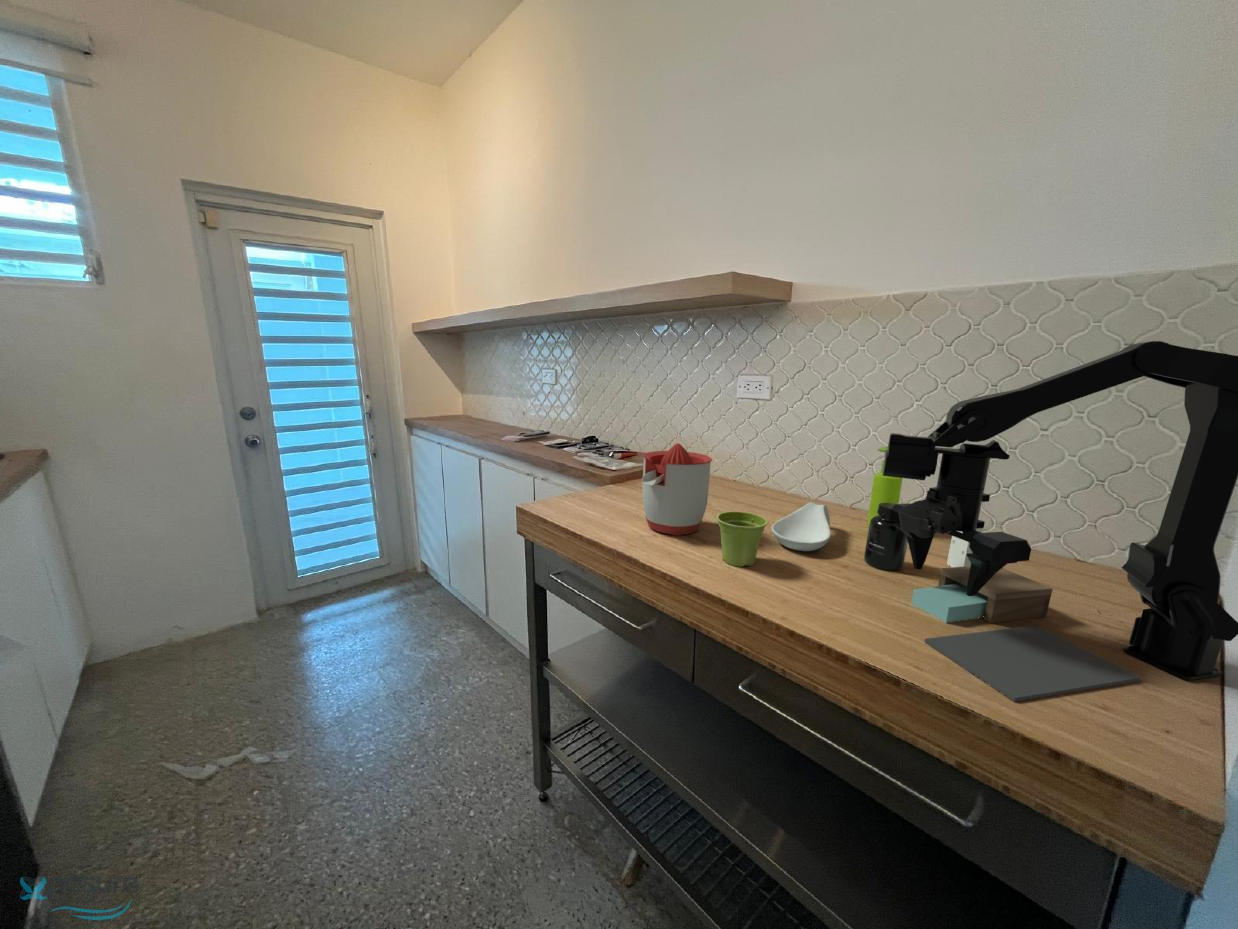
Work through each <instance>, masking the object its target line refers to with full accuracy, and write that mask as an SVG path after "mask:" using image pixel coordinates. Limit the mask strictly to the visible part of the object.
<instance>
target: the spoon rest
mask: <svg viewBox="0 0 1238 929" xmlns="http://www.w3.org/2000/svg"><path fill="white" fill-rule="evenodd" d="M830 519H831V518H830V512H829V508H828V507H827V505H826V504H817V503H815V502H808V503H806V504H804V505H803V506H802V507H800V508H799V509H797V510H795V511H793V512H792V513H789V514H788V515H786V516H784V517H782V518H781V519H778V520H777V521H775V522H774V523H773V524H772V526H771V528H770V529H771V533H772V535H773V537H774V538H775V540H777V542H778V543H780V544H781V545H782V546H784V547H785V548H788V549H791V550H794V551H798V552H813V551H816V550H819V549H820V548H822V547H824V546H825V545H826V544H827V543H828V542H829V541H830V539H831V536H832V535H831V533H832V532H831V528H830V527H831V526H830V525H831V520H830Z"/></svg>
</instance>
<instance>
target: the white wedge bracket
mask: <svg viewBox="0 0 1238 929" xmlns="http://www.w3.org/2000/svg"><path fill="white" fill-rule="evenodd" d="M976 531H978V532H981V533H983V528H978V529H976ZM958 532H960V531H958ZM961 533H963V532H961ZM969 545H970V542H967V541H964V540H962V539H959V538H957V537H954V536H951V541H950V545H949V551H948V556H947V560H946V564H947V566H949V565H950V566H951V567H964V566H971V562H970V561H969V559H968V557H967V556H966V554H970V553H972V551H971V549H970V547H969ZM950 566H949V567H950ZM951 567H950V568H951Z"/></svg>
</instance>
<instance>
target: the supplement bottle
mask: <svg viewBox="0 0 1238 929" xmlns="http://www.w3.org/2000/svg"><path fill="white" fill-rule="evenodd" d="M895 505H896V504H893V503H880V504H879V507H878V510H877V513H878V516H875V517H873V518H872V519H871V520H870V524H869V528H868V531H867V537H866V543H865V549H864V555H863V559H864V562H865V563H866V564H867V565H869V567H873V568H876V569H879V570H881V571H887V572H898V571H900V570H902V569H903V568H904V563H905V560H906V555H907V549H908V545H909V544H908V541H907V538H906V535H905V534H904V533H903V532H902V531H901V530H900V529H899V528H897V527H896V526H895V525H894V524H895V523H896V522H893V521H891V520H889V516H890V510H891V509H892V508H893V507H894V506H895Z"/></svg>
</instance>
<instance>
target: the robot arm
mask: <svg viewBox="0 0 1238 929" xmlns="http://www.w3.org/2000/svg"><path fill="white" fill-rule="evenodd" d="M1142 377H1145V378H1148V379H1151V380H1153V381H1154V380H1155V381H1156V382H1161V383H1164V384H1168V385H1171V386H1175V387H1179V388H1184V401H1183V402H1184V409H1185V412H1186V413H1185V414H1186V417H1187V420H1188V423H1189V433H1188V436H1187V439H1186V443H1185V446H1184V448H1183V453H1182V456H1181V459H1180V461H1179V465H1178V468H1177V471H1176V475H1175V477H1174V481H1173V484H1172V487H1171V491H1170V494H1169V497H1168V501H1167V503H1166V507H1165V510H1164V513H1163V516H1162V518H1161V519H1162V520H1161V522H1160V526H1159V527H1158V528H1159V529H1158V531H1157V533H1156V535H1155V536H1154V537H1153V538H1151V540H1150V541H1148V542H1147V543H1146V544H1145V545H1144V544H1141V543H1137V542H1133V541H1132V542H1130V545H1129V550H1128V551H1129V552H1128V553H1129V554H1128V558H1127V561H1126V563H1125V564H1124V565H1122V566H1121V569H1122V570H1123V571H1125V572H1126V573H1127V574H1126V575H1127V576H1126V578H1127V581H1128V584H1130V585H1131V586H1132V587H1133V588H1134V590H1136V592H1138V593H1139V596H1140V600H1141V602H1142V603H1143V604H1144V605H1146V606H1148V607H1149V608H1144V609H1142V612H1141V616H1137V617H1135V620H1134V623H1133V627H1132V630H1131V634H1130V637H1129V640H1128V644H1129V645H1130V646H1129V645H1128V646H1124V647H1123V649H1122V650H1123V651H1124V652H1125V653H1126V654H1129V655H1131V656H1132V657H1135V658H1138V659H1140V660H1142V661H1144V662H1146V663H1149V664H1151V665H1153V666H1155V667H1156V668H1159V669H1161V670H1164V671H1165V672H1168V673H1169V674H1172V675H1174V676H1176V677H1178V678H1181V679H1182V680H1186V681H1194V680H1199V679H1206V678H1211V677H1212V678H1213V677H1218V676H1221V675H1222V673H1223V672H1222V670H1220V669H1218V668H1217V667H1216V664H1217V661H1218V657H1219V656H1220V651H1221V649H1222V646H1223V643H1224V641H1227V642H1231V641H1232V640H1234V639H1235V637H1236V636H1238V621H1237V620H1236V619H1235V618H1233V616H1232V615H1230V613H1229V612H1228V611H1227V610H1225V608H1223V607H1222V606H1221V605H1220V604H1219V603H1220V602H1219V601H1220V593H1221V592H1220V591H1221V573H1220V569H1219V565H1218V561H1217V557H1216V554H1215V546H1216V542H1217V539H1218V536H1219V534H1220V530H1221V528H1222V524H1223V522H1224V519H1225V517H1226V516H1225V515H1226V513H1227V510H1228V507H1229V504H1230V501H1231V499H1232V495H1233V493H1234V490H1235V487H1236V484H1237V481H1238V355H1237V354H1236V355H1235V354H1227V353H1224V352H1223V353H1221V352H1215V351H1208V350H1202V349H1196V348H1189V347H1184V346H1179V345H1175V344H1170V343H1169V342H1165V341H1161V340H1152V341H1150V340H1149V341H1142V342H1137V343H1133V344H1129V345H1127V346H1126V347H1125V348H1122V349H1121V350H1119V351H1117V352H1114V353H1111V354H1109V355H1106V356H1102V357H1100V358H1098V359H1095V360H1092V361H1090V362H1087V363H1084V364H1081V365H1079V366H1076V367H1073V368H1071V369H1068V370H1065V371H1063V372H1060V373H1056V374H1054V375H1052V376H1049V377H1047V378H1044V379H1040V380H1039V381H1035V382H1033V383H1030V384H1027V385H1025V386H1022V387H1020V388H1016V389H1012V390H1007V391H1003V392H997V393H991V394H987V395H982V396H977V397H973V398H968V399H964V400H961V401H958V402H957V403H955V404H953V405H952V406H951V407H950V408H949V410H948V412H947V414H946V416H945V417H946V418H945V421H944V422H943V423H942V424H940V425H939V426H938V427H937V428H936V429H934V430H933V431H932V433H930V434H928V436H917V435H916V436H914V435H904V434H901V433H894V432H893V433H890V434H889V439H888V444H887V447H888V448H887V451H886V452H884V459H883V460H884V466H883V476H889V477H898V478H903V479H908V480H917V481H925V480H926V478H927V477H928V478H929V477H931V476H934V475H935V473H936V470H937V465H938V458H939V454H941V460H940V464H939V465H940V466H939V472H938V476H937V482H936V487H929V490H927V492H926V497H925V498H924V499H922V500H917V501H915V502H912V503H899V504H896V505H895V506H894V507H893V508H892V509H891V510H890V516H889V520H891V521H893V522H896V523H895V524H894V525H895V526H896V527H897V528H899V529H900V530H901V531H902V532H903V533H904V534H905V535H906V538H907V541H908V544H907V545H908V548H909V551H910V557H911V560H912V564H913V565H912V566H913V569H914V570H916V571H917V570H919V571H920V570H921V569H922V568H923V566H924V564H925V563H926V561H927V557H928V554H929V551H930V548H931V546H932V543H933V540H934V537H935V534H941V535H945V534H947V535H949V536H951V537H952V536H954V537H957V538H959V539H962V540H964V541H967V542H970V545H969V547H970V549H971V551H972V553H970V554H966V556H967V557H968V559H969V561H970V562H971V567H970V572H969V577H968V583H967V595H968V596H974V595H976V594H977V592H978V591H979V590H980V589H981V588H982V587H983V586H984V585H985V584H986V583H987V582H988V581H989V580H990V579H991V578H992V577H993V576H994V575H995V574H996V573H997V572H998V571H999V570H1000V569H1002V568H1004V567H1006V566H1007V565H1009V564H1017V563H1019V562H1027V561H1028V562H1029V561H1030V556H1031V553H1032V546H1031V545H1030V543H1029V542H1028V540H1027V539H1024V538H1022V537H1018V536H1016V535H1013V534H1010V533H1007V532H1004V531H993V532H992V531H991V532H989V531H988V532H982V533H981V532H978V531H976V529H978V528H982V529H984V527H985V523H986V522H985V521H984V520H981V519H980V518H979V517H980V514H981V508H982V503H987V502H990V498H991V494H988V493H985V488H986V482H987V477H988V473H989V467H990V462H991V459H995V460H996V459H997V460H1004V461H1005V460H1009V459H1010V457H1011V456H1010V455H1009V454H1008V453H1007V452H1006V451H1005V450H1004V449H1003V448H1002V447H1001V445H1000V443H999V441H996V440H991V441H990V442H988V443H986V444H974V443H978V442H984V441H987V440H990V439H992V438H994V437H995V436H997V435H999V434H1001V433H1004V432H1005V431H1008V430H1010V429H1011V428H1013V427H1015V426H1016V425H1018V424H1019V423H1021V422H1023V421H1024V420H1026V419H1028V418H1031V417H1032V416H1033V415H1035V414H1038V413H1041V412H1043V411H1047V410H1049V409H1052V408H1056V407H1058V406H1060V405H1064V404H1067V403H1070V402H1072V401H1076V400H1078V399H1082V398H1084V397H1087V396H1090V395H1093V394H1096V393H1098V392H1103V391H1104V390H1107V389H1111V388H1113V387H1117V386H1119V385H1122V384H1125V383H1128V382H1130V381H1134V380H1137V379H1139V378H1142ZM967 441H968V442H972V443H965V442H967ZM958 445H960V446H959V448H953V447H955V446H958ZM958 531H960V532H958ZM961 532H963V533H961ZM1215 667H1216V668H1215Z"/></svg>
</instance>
